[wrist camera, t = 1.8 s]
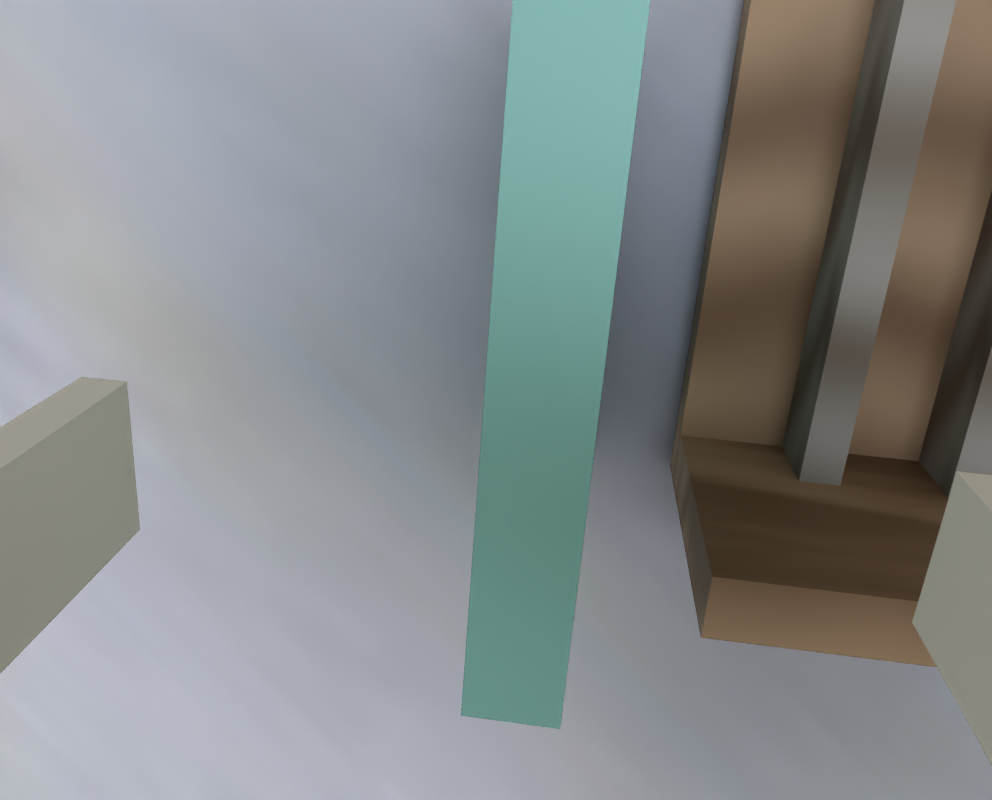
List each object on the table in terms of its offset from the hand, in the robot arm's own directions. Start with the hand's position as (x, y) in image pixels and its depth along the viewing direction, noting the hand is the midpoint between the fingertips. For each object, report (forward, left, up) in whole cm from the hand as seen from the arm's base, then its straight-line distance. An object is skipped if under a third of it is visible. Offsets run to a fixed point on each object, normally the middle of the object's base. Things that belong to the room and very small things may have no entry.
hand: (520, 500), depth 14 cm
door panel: (0, 0, -20) cm, 20 cm away
